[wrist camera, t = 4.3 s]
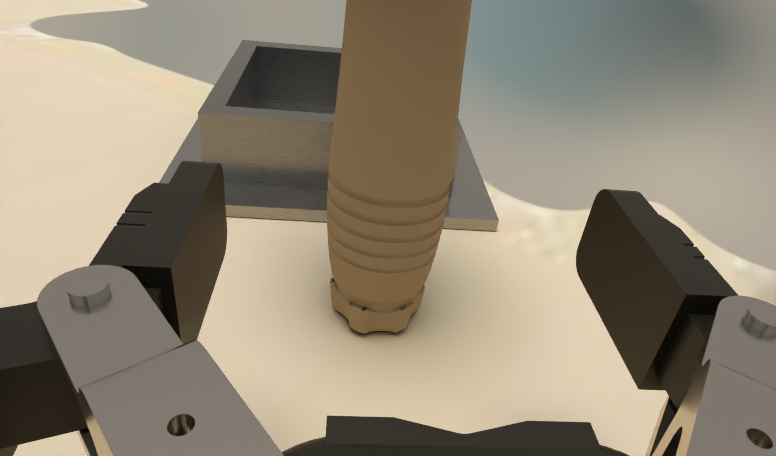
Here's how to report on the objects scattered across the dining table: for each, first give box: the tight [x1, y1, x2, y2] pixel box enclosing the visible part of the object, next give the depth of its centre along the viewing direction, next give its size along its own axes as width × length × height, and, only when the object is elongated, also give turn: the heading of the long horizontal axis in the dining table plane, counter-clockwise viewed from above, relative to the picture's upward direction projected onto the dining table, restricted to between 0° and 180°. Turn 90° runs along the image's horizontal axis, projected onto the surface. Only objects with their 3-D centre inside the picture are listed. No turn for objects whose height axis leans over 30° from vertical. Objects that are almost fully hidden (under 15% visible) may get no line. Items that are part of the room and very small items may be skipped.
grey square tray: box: [159, 40, 499, 231], centre depth 32 cm, size 16×16×4 cm
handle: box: [327, 0, 472, 334], centre depth 17 cm, size 5×6×15 cm
